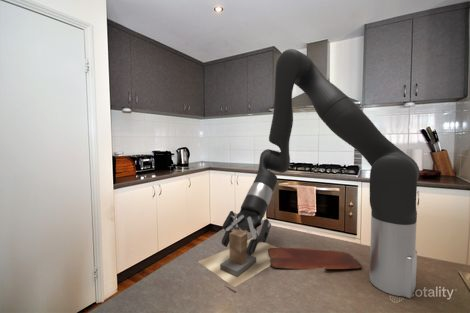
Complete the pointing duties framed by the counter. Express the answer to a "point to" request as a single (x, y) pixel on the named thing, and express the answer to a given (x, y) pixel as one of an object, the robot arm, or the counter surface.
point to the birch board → (261, 264)
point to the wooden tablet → (311, 259)
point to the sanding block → (238, 255)
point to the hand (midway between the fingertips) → (235, 249)
